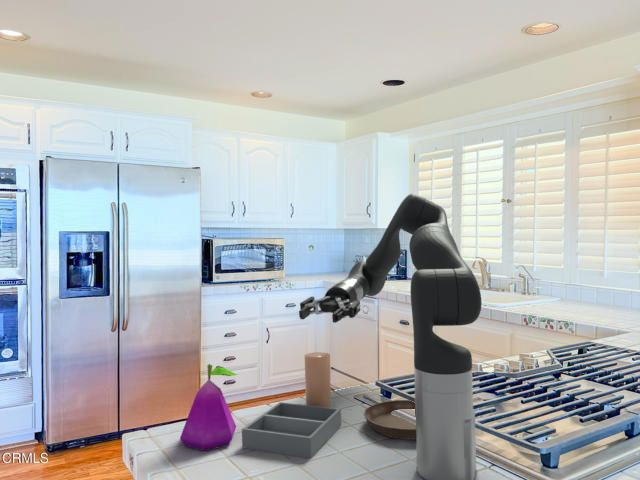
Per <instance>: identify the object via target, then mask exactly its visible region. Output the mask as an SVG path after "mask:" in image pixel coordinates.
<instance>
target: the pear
mask: <svg viewBox="0 0 640 480" xmlns="http://www.w3.org/2000/svg"><path fill="white" fill-rule="evenodd" d="M206 367H207V381H206V382H205V383H204V384H203V385H201V387H200V388H199V389H198V391H197V392H196V395H195V398H194V400H193V403H192V405H191V407H190V411H189V413H188V415H187V419H186V421H185V422H184V423H185V424H184V426H183V429H182V431H181V434H180V436H179V437H180V438H179V439H180V440H181V441H180V442H182V444H183V445H184V446H185V447H188V448H192V449H195V450H198V451H199V450H200V451H203V452H204V451H209V450H214V449H218V448H221V447H227V446H229V445H230V444H231V441H232V440H233V438H234V434H235V431H236V428H237V425H236V422H235V420H234V417H233V415H232V413H231V411H230V408H229V406H228V404H227V401H226V399H225V397H224V394H223V391H222V390H221V388H220V387H219V386H218V385H217V384H215V383H214V382H213V381H212V380H211V377H212V376H225V377H231V376H238V374H237V373H235V372H233V371H231V370H229V369H227V368H225V367H223V366H220V365H217V366H216V367H214V369H213V365H212V364H210V363H209V364H207V365H206Z"/></svg>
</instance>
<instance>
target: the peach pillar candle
mask: <svg viewBox="0 0 640 480" xmlns="http://www.w3.org/2000/svg"><path fill="white" fill-rule="evenodd" d="M331 378H332V377H331V354H330V353H328V352H310V353H309V352H308V353H306V354H304V381H305V382H304V383H305V384H304V386H305V388H304V389H305V405H310V406H320V407H329V408H332V383H331V381H332V379H331Z"/></svg>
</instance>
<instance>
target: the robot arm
mask: <svg viewBox="0 0 640 480" xmlns="http://www.w3.org/2000/svg"><path fill="white" fill-rule="evenodd" d="M401 230H403V231H404V232H406V233H408V234H410V235H411V237H410V240H409V245H408V246H409V247H408V248H409V249H408V250H409V253H410V258H411V262H412V265H413V266H414V268H415V269H416V270H415V271H414V273H413V274H412V277H411V280H410V305H411V306H410V307H411V315H412V328H413V329H412V330H413V366H414V367H413V368H414V401H415V417H416V439H415V447H416V448H415V449H416V451H415V452H416V453H415V454H416V456H415V459H416V461H415V462H416V471H417V473H418V475H419V476H420V477H421V478H422V479H424V480H475V475H476V471H477V452H476V451H477V446H476V445H477V444H476V412H475V410H474V395H473V394H474V392H473V391H474V390H473V385H474V384H473V358H472V353H471V351H470V350H469V349H468V348H466V347H465V346H462V345H459V344H456V343H454V342H451V341H448V340H446V339H444V338H442V337H440V336H439V335H437V334H436V333H435V331H434V327H435V326H436V327H437V326H439V327H440V326H441V327H446V326H447V327H449V326H450V327H451V326H454V327H455V326H457V327H458V326H459V327H461V326H466V325H471V324H473V323H474V322H476V321H477V320H478V318H479V317H480V315H481V311H482V294H481V289H480V287H479V286H480V285H479V282H478V280H477V278H476V276H475V274H474V273H473V271H472V269H471V268H470V267H469V265H468V264H467V263H466V262H465V260H464V259H463V258H462V256H461V254H460V251H459V249H458V246H457V243H456V240H455V239H454V237H453V235H452V233H451V231H450V228H449V224H448V219H447V213H446V210H445V209H444V208H443V207H442V206H441V205H439V204H437V203H435V202H434V201H432V200H431V199H428V198H425V197H424V196H421V195H419V194H417V193H409V194H407V196H406V197H405V198H404V199H403V200H402V202H401V203H400V205H399V206H398V208H397V209H396V211H395V213H394V215H393V216H392V218H391V220H390V222H389V224H388V225H387V227H386V229H385V231H384V232H383V235H382V237H381V239H380V241H379V242H378V243H377V245H376V247H375V248H374V249H373V250H372V252H371V253H370V254H369V256H368V257H367V258H366V261H363V260H361V261H359V262H356V263H355V264H354V265H353V266H352V267H351V269H350V270H349V273H348V275H347V277H345V278H344V279H342V280H340V281H339V282H337V283H336V284H335V285H333V286H331V287H330V288H329V289H327V291H326V292H325V294H324V296H323V297H322V298H319V299H315V296H309V297H308V298H306V299H305V300H302V301H301V302H300V303H299V306H300V308H299V309H300V310H299V311H298V314H299V315H298V316H299V319H300V320H305V319H306V318H308V317H309V316H310V315H313V314H315V315H322V314H325V313H326V314H330V313H331V314H332V317H331V318H332V323H335V324H337V323H338V322H340V321H341V320H342V319H346V318H347V317H348V318H349V319H352V318H353V319H354V318H355V317H356V316H357V315H358V314H359V312H360V311H361V300H362V299H364V298H365V297H366V296H368V297H375V296H377V295H378V294H379V293H381V291H382V290H383V288H384V286H385V284H386V280H387V278H388V274H389V273H390V272H391V271H392V269H393V268H394V267H395V265H396V264H397V263H398V262H399V260H400V259H401V258H400V257H401V254H402V249H401V240H400V232H401ZM312 309H313V310H312ZM319 309H320V310H319Z"/></svg>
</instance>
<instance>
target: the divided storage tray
mask: <svg viewBox="0 0 640 480" xmlns="http://www.w3.org/2000/svg"><path fill="white" fill-rule="evenodd" d="M341 427H342V408H337V407H331V408H329V407H320V406H310V405H306V404H301V403H300V404H299V403H290V402H280V401H279V402H278V403H277V404H275V405H274V406H272V407H271V408H270V409H268V410H267V411H265V412H264V413H263V414H261V415H259V416H258V417H257V418H255V419H254V420H253V421H251V422H250V423H248V424H247V425H245V426H244V427H243V428H241V442H242V446H241V447H242V448H243V449H250V450H255V451H262V452H267V453H268V452H269V453H276V454H282V455H289V456H296V457H304V458H309V459H312V458H314V456H315V455H316V453H318V452H319V450H321V448H322V447H323V446H324V445H325V444H326V443H327V442H328V441H329V439H331V438H332V437H333V436H334V434H335V433H336V432H337V431H338V430H339V429H340V428H341Z"/></svg>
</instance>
